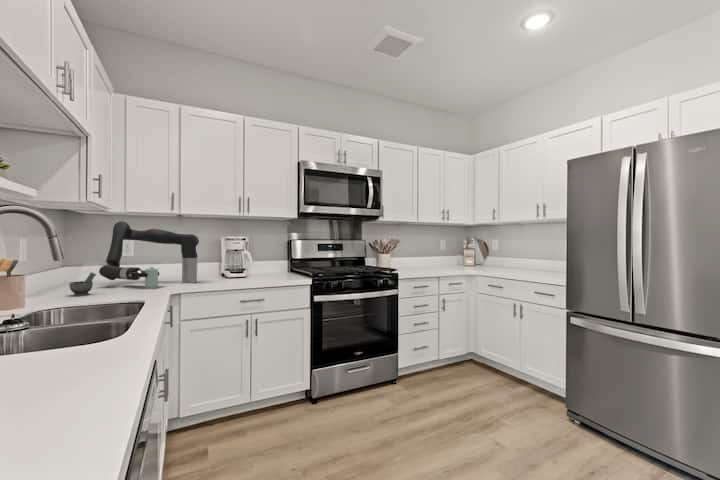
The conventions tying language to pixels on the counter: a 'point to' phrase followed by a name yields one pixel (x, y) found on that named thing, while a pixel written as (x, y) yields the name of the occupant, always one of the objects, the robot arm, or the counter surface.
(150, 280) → the green canister
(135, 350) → the counter surface
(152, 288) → the board
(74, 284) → the mortar and pestle
